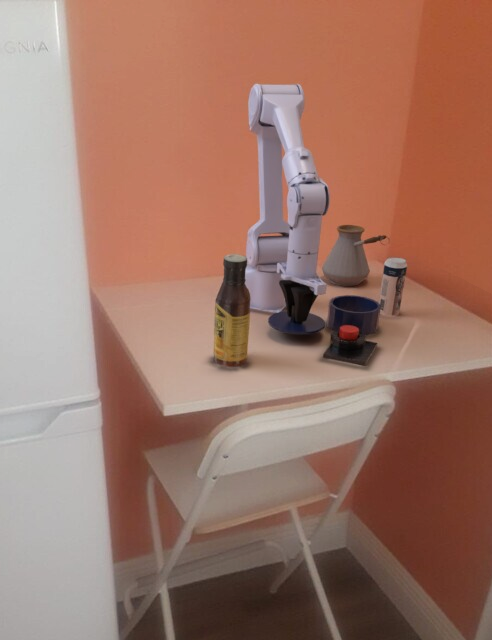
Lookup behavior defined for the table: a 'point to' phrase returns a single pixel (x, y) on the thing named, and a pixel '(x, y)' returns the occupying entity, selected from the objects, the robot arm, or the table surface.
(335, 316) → the pot
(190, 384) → the table surface
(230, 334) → the sauce bottle
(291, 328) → the lid
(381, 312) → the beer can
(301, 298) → the robot arm
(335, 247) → the coffee pot
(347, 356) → the control block
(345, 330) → the button
